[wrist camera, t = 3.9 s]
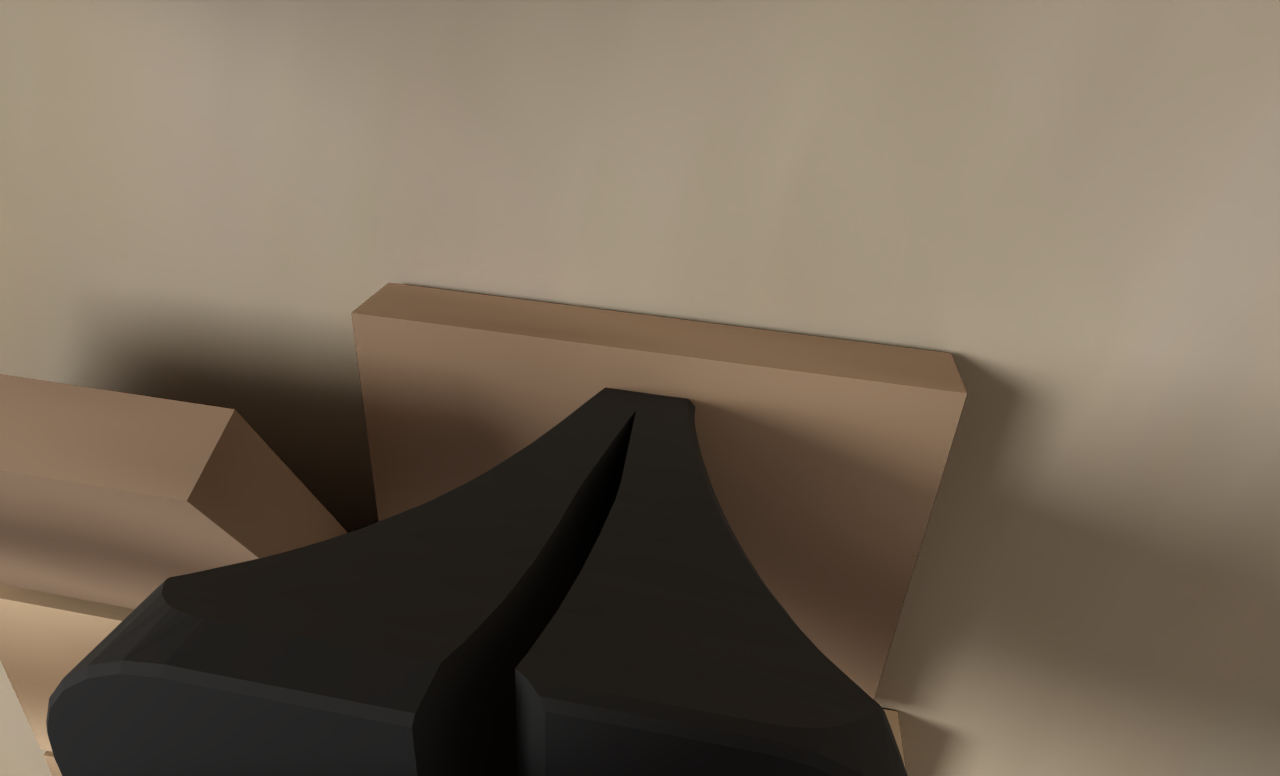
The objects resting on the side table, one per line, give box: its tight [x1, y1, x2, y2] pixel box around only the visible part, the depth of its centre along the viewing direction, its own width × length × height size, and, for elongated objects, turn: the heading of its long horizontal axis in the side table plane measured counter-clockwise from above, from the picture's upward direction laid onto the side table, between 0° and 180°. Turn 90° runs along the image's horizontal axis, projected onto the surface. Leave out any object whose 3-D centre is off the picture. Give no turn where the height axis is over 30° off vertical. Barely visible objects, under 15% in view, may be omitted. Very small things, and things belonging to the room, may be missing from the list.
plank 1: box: [0, 374, 348, 609], centre depth 12 cm, size 7×8×1 cm
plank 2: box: [351, 283, 967, 700], centre depth 13 cm, size 7×8×1 cm
